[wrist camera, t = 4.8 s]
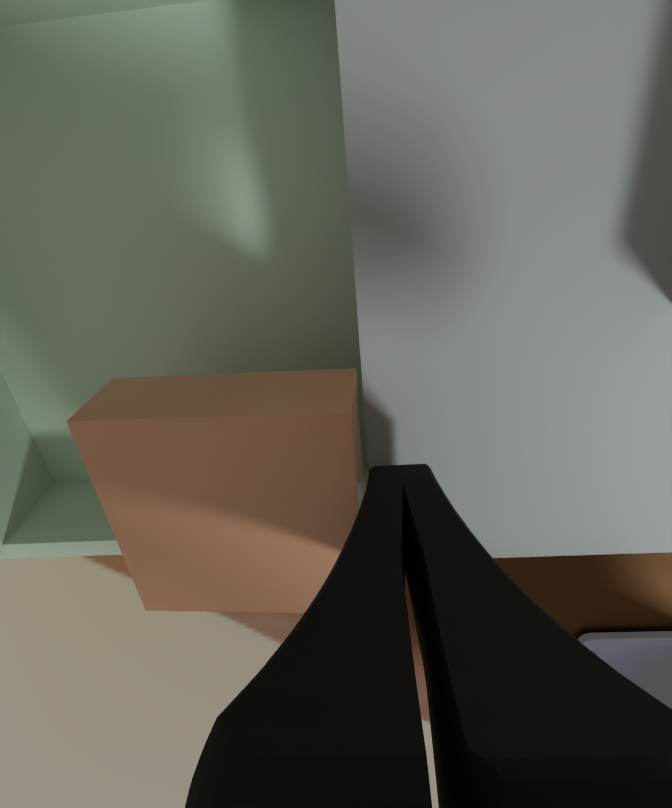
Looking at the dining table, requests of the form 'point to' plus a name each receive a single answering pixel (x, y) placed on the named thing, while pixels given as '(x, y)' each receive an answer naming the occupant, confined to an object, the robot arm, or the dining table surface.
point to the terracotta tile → (227, 483)
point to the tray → (159, 222)
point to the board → (517, 260)
